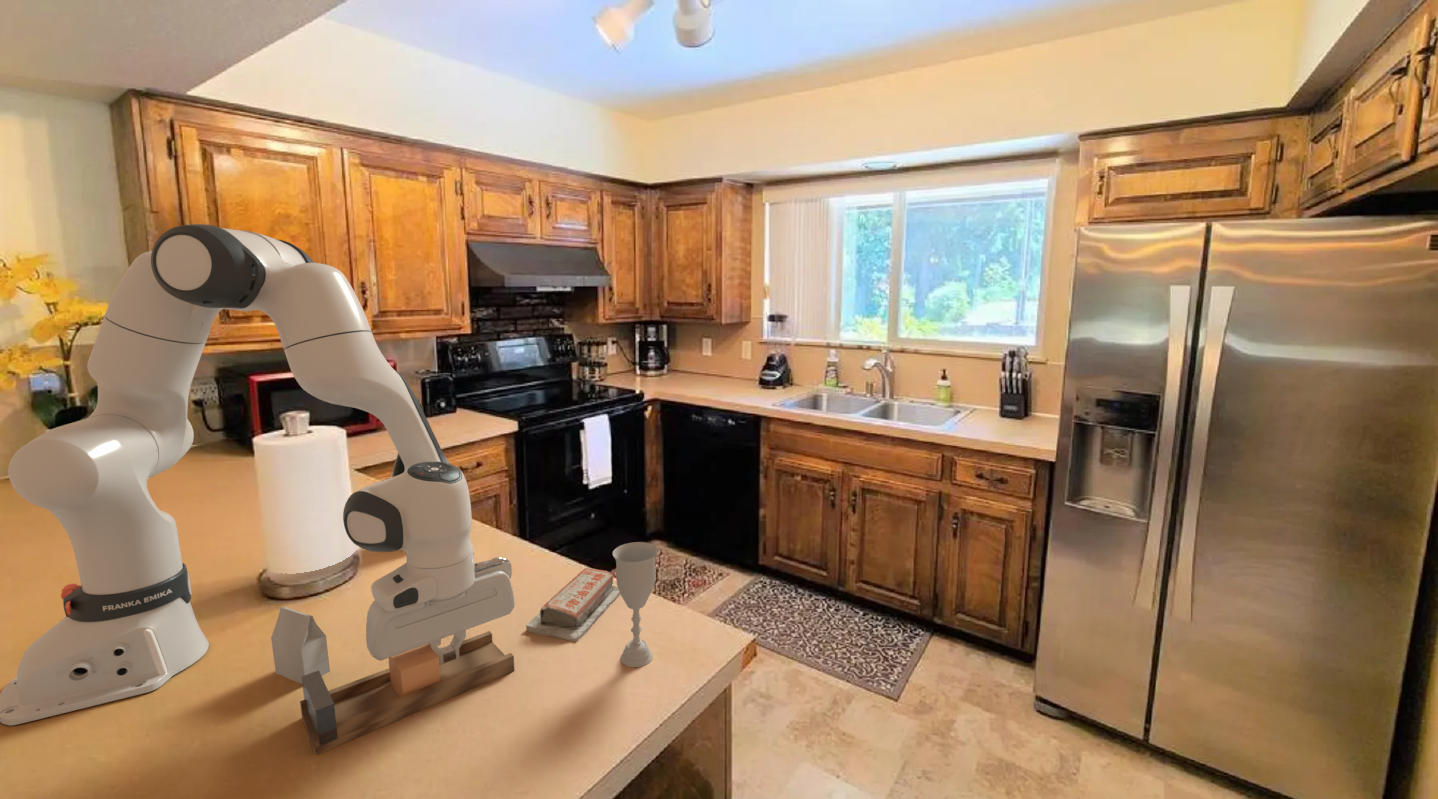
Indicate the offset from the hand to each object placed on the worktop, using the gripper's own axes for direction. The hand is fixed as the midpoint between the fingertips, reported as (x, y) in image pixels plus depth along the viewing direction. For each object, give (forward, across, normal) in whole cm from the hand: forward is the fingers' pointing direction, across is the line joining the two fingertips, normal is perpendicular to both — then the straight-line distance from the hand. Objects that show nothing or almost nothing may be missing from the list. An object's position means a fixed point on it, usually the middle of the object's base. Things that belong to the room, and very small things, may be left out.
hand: (447, 660), depth 92 cm
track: (+3, +5, 0) cm, 6 cm away
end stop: (+2, +16, 0) cm, 17 cm away
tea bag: (+3, +16, -16) cm, 23 cm away
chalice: (+3, -24, +14) cm, 28 cm away
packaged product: (+4, -24, -4) cm, 25 cm away
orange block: (+3, +5, 0) cm, 6 cm away
